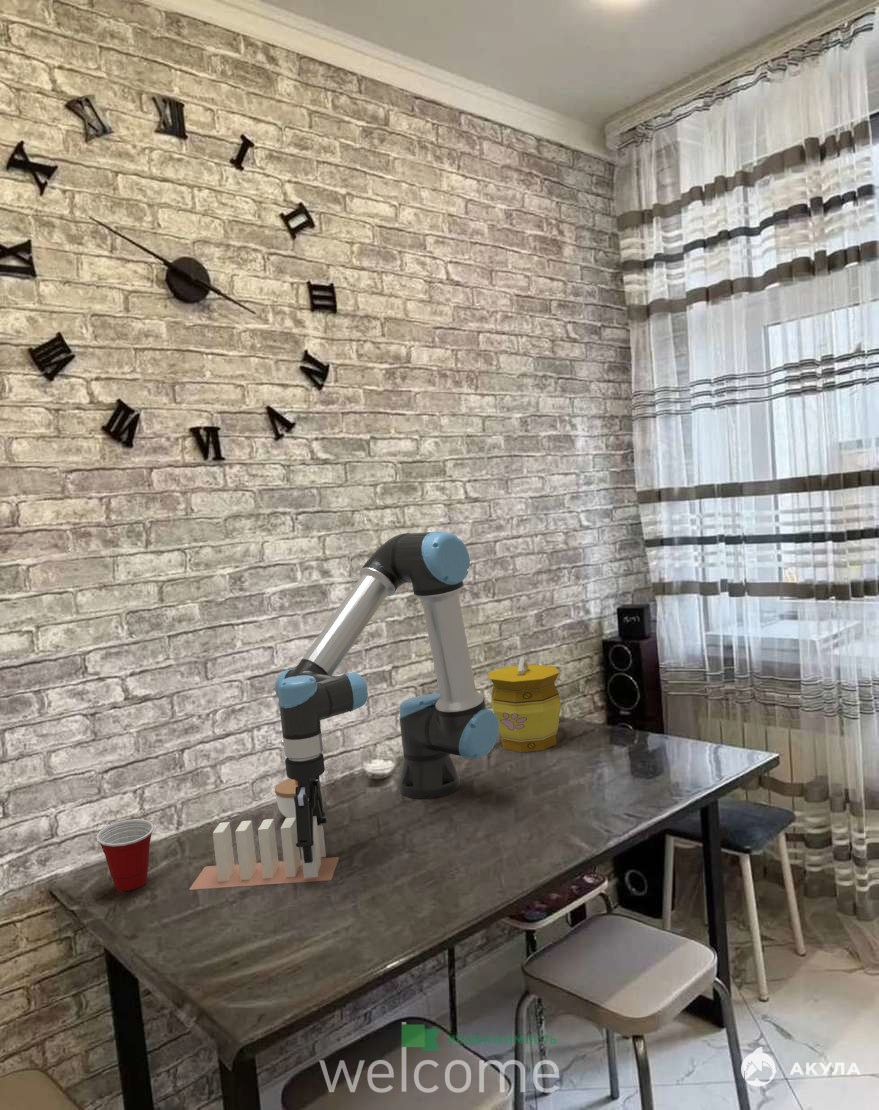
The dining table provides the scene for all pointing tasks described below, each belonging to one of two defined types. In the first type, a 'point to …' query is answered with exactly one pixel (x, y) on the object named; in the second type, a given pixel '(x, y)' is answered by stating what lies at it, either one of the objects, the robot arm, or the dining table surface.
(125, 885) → the plastic cup
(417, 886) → the dining table surface
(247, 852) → the domino
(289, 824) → the domino
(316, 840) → the domino
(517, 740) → the container
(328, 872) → the strip
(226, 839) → the domino
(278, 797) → the lidded jar
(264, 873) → the domino
